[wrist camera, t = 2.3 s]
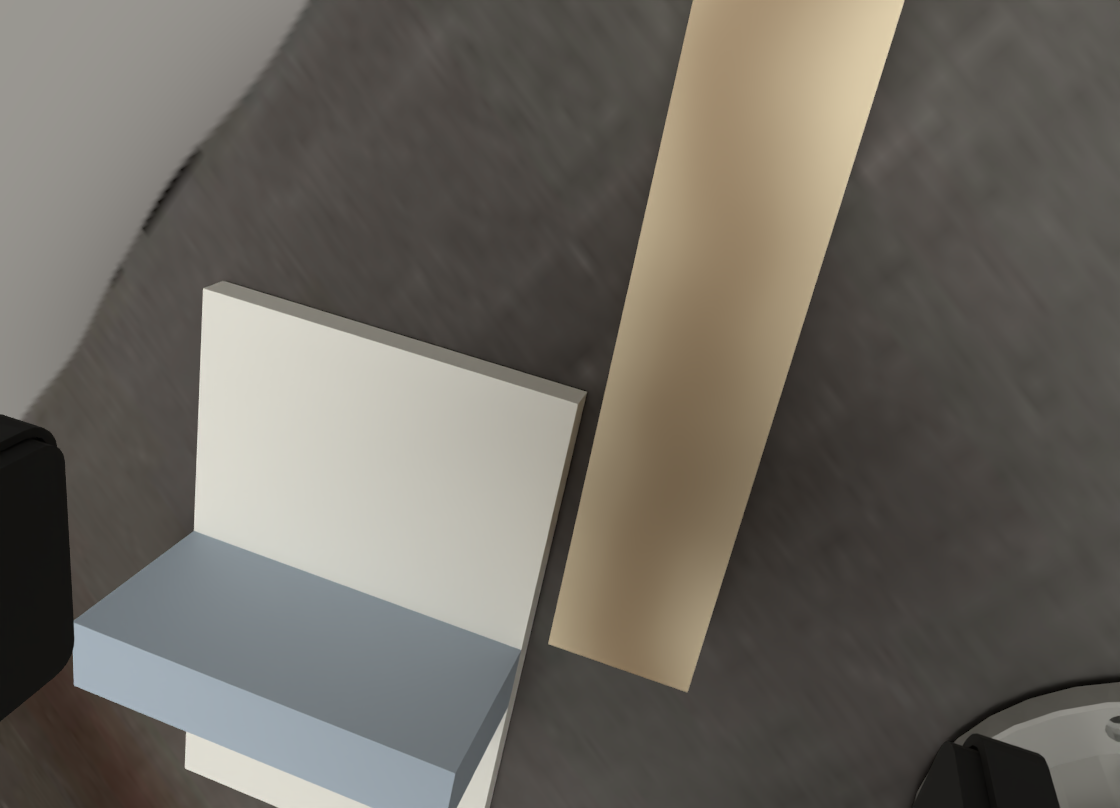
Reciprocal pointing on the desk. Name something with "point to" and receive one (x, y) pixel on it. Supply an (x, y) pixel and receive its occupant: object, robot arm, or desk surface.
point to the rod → (714, 316)
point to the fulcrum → (344, 563)
